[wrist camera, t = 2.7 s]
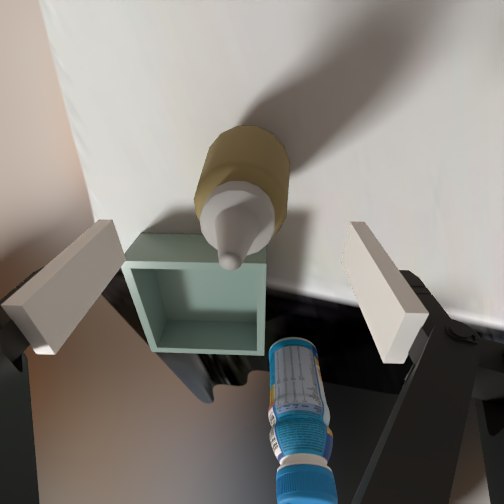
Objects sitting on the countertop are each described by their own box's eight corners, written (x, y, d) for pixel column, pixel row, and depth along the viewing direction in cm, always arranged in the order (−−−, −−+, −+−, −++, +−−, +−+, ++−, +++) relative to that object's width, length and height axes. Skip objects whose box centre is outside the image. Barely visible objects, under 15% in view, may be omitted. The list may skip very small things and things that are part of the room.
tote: (140, 233, 33) (118, 260, 28) (266, 235, 33) (266, 263, 28) (165, 319, 42) (151, 351, 37) (264, 322, 42) (264, 355, 37)
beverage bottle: (296, 327, 42) (316, 491, 26) (327, 352, 45) (362, 511, 29) (257, 348, 46) (253, 504, 29) (288, 370, 49) (300, 521, 32)
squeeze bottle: (215, 111, 25) (143, 163, 10) (296, 127, 26) (338, 201, 11) (208, 190, 30) (150, 305, 15) (277, 203, 30) (289, 327, 15)
